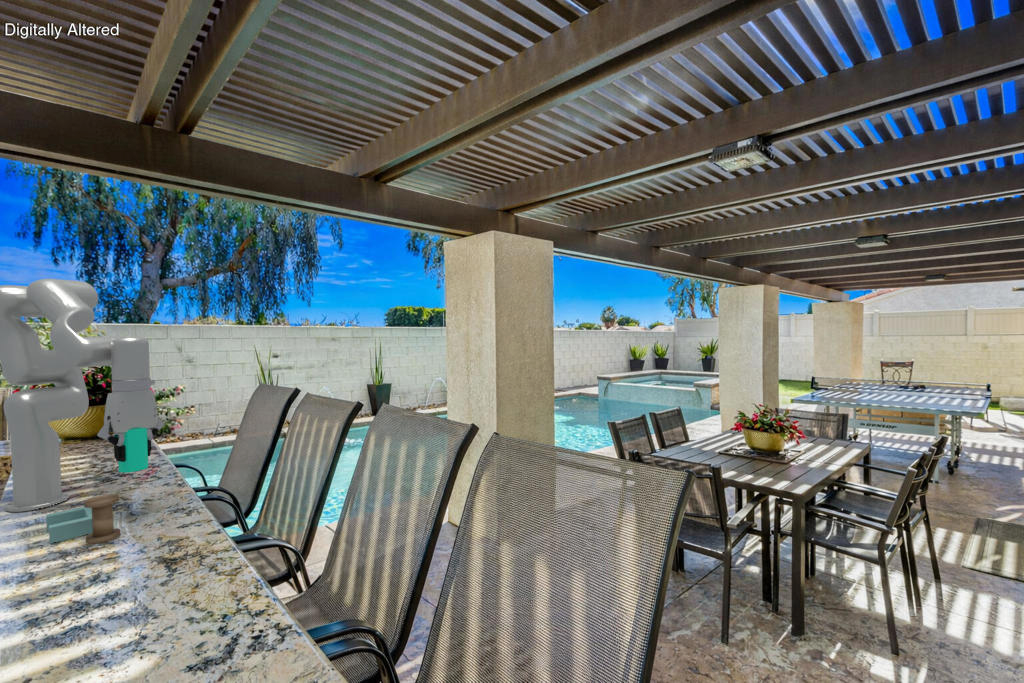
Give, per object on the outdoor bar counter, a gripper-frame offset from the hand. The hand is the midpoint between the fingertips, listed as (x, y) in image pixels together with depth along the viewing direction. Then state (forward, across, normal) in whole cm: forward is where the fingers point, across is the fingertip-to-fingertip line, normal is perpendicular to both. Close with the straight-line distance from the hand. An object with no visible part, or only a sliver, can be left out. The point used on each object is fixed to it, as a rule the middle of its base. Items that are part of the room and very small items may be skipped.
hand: (133, 457), depth 123 cm
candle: (+3, 0, 0) cm, 3 cm away
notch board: (+15, +11, -4) cm, 19 cm away
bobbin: (+15, +11, +8) cm, 20 cm away
